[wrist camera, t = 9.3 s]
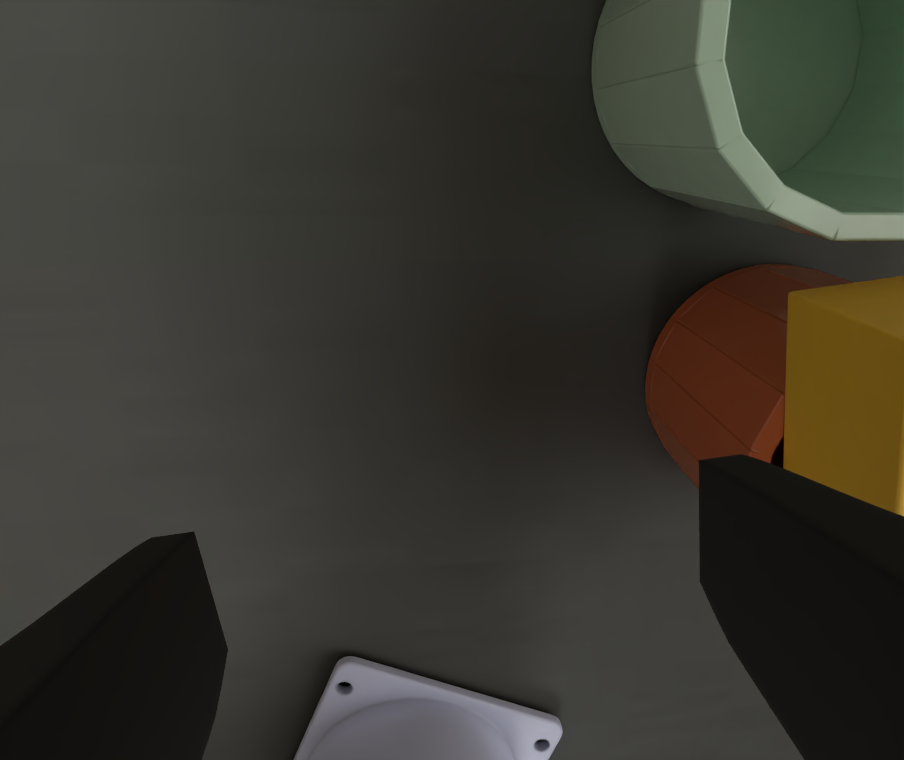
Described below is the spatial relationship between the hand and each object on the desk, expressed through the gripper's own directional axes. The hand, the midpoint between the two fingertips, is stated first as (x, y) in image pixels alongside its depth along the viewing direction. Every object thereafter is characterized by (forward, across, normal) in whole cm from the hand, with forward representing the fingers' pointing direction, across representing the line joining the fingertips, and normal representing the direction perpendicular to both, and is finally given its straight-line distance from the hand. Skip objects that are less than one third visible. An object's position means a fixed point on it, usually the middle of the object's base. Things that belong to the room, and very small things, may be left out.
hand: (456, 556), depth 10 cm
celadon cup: (+10, -8, -6) cm, 15 cm away
